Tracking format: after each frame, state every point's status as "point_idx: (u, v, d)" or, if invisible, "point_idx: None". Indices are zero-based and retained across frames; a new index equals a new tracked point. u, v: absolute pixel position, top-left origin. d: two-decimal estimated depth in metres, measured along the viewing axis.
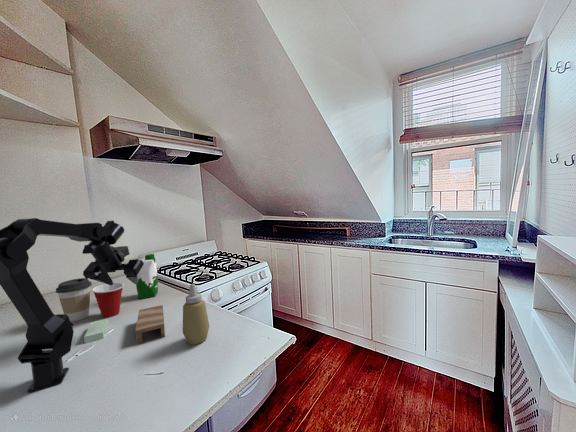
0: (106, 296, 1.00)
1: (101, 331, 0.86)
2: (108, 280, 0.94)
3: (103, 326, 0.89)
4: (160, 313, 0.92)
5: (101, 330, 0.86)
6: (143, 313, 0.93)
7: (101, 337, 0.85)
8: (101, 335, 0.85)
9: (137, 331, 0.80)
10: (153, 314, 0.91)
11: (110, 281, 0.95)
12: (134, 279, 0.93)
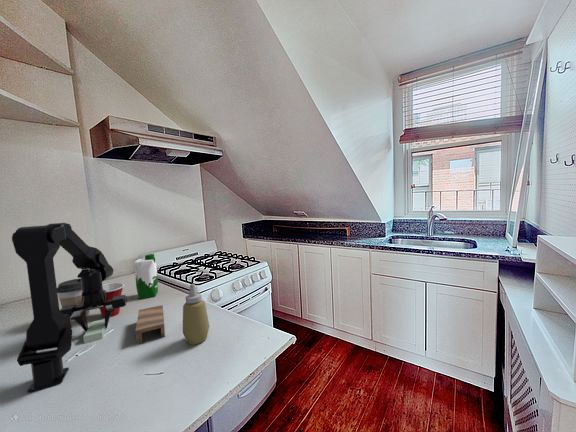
0: (106, 296, 1.00)
1: (100, 331, 0.86)
2: (86, 325, 0.88)
3: (103, 326, 0.89)
4: (160, 313, 0.92)
5: (100, 330, 0.86)
6: (143, 313, 0.93)
7: (100, 337, 0.85)
8: (100, 335, 0.85)
9: (137, 331, 0.80)
10: (153, 314, 0.91)
11: (87, 327, 0.88)
12: (108, 319, 0.90)
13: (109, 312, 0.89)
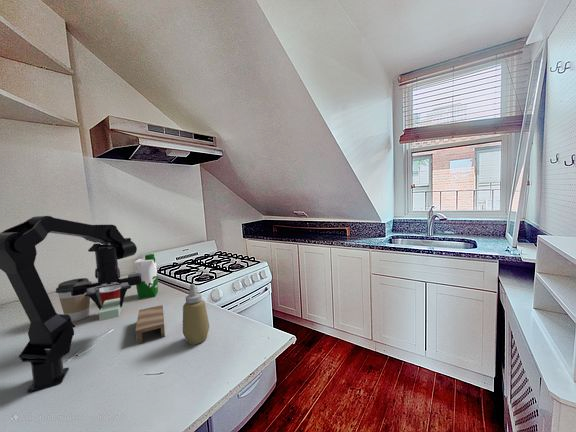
0: (106, 296, 1.00)
1: (116, 308, 0.81)
2: (100, 303, 0.83)
3: (118, 303, 0.85)
4: (160, 313, 0.92)
5: (116, 307, 0.82)
6: (143, 313, 0.93)
7: (116, 314, 0.80)
8: (116, 312, 0.80)
9: (137, 331, 0.80)
10: (153, 314, 0.91)
11: (101, 306, 0.83)
12: None
13: (125, 290, 0.84)
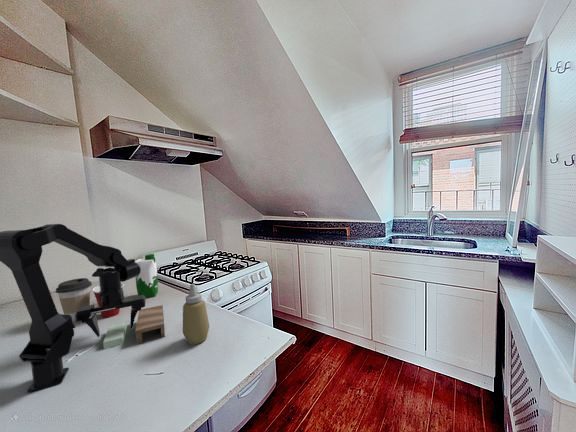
0: None
1: (120, 336, 0.82)
2: (97, 328, 0.83)
3: (122, 331, 0.85)
4: (160, 313, 0.92)
5: (120, 335, 0.82)
6: (143, 313, 0.93)
7: (121, 342, 0.81)
8: (121, 340, 0.81)
9: (137, 331, 0.80)
10: (153, 314, 0.91)
11: (98, 331, 0.83)
12: None
13: (135, 312, 0.85)
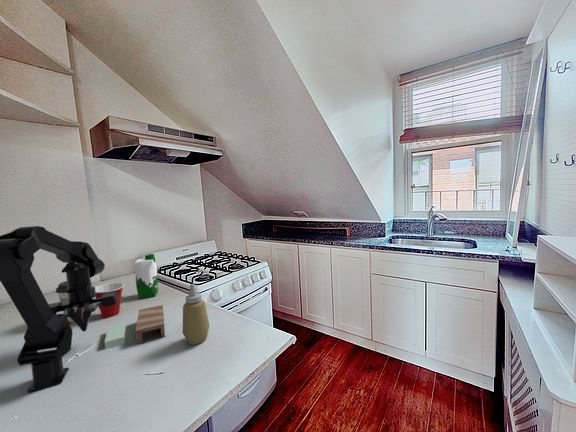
0: None
1: (122, 336, 0.82)
2: (82, 323, 0.81)
3: (122, 330, 0.85)
4: (160, 313, 0.92)
5: (121, 335, 0.82)
6: (143, 313, 0.93)
7: (122, 342, 0.81)
8: (122, 340, 0.81)
9: (137, 331, 0.80)
10: (153, 314, 0.91)
11: None
12: (88, 321, 0.81)
13: (88, 313, 0.79)
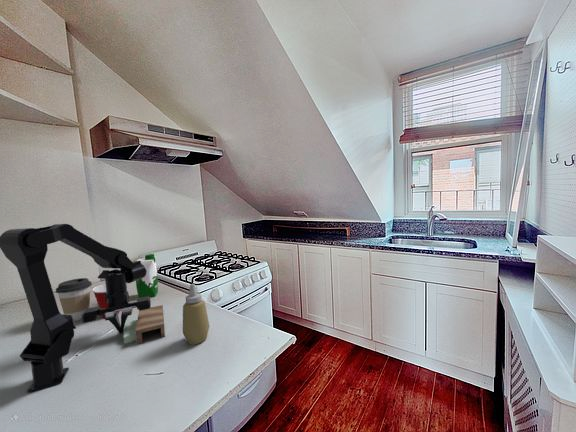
0: None
1: None
2: (119, 326, 0.85)
3: None
4: (160, 313, 0.92)
5: None
6: (143, 313, 0.93)
7: None
8: None
9: (137, 331, 0.80)
10: (153, 314, 0.91)
11: None
12: (124, 324, 0.85)
13: (125, 316, 0.84)
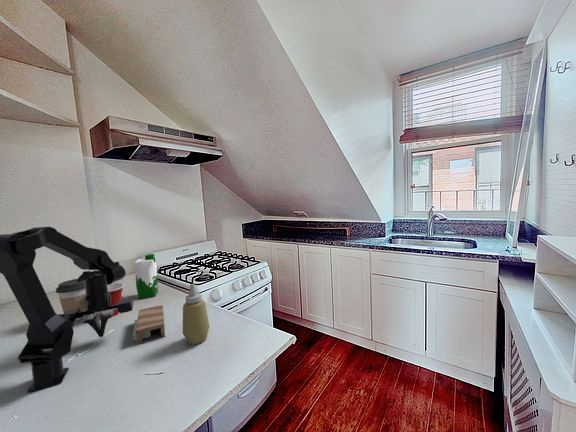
0: None
1: None
2: (100, 329, 0.83)
3: None
4: (160, 313, 0.92)
5: None
6: (143, 313, 0.93)
7: (149, 335, 0.85)
8: (149, 333, 0.85)
9: (137, 331, 0.80)
10: (153, 314, 0.91)
11: None
12: (105, 327, 0.83)
13: (105, 319, 0.81)
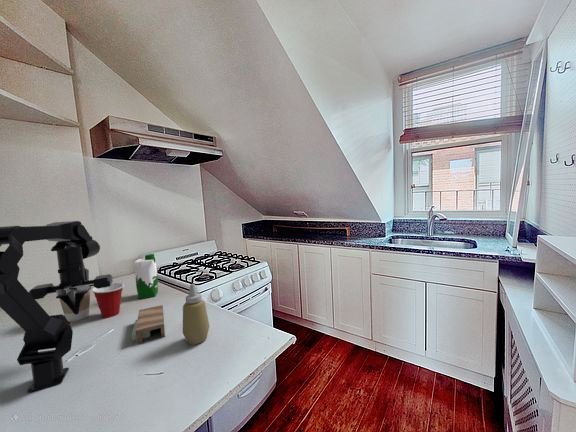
0: (106, 296, 1.00)
1: None
2: None
3: None
4: (160, 313, 0.92)
5: None
6: (143, 313, 0.93)
7: (148, 335, 0.84)
8: (148, 333, 0.84)
9: (137, 331, 0.80)
10: (153, 314, 0.91)
11: None
12: (80, 303, 0.77)
13: (80, 295, 0.75)
